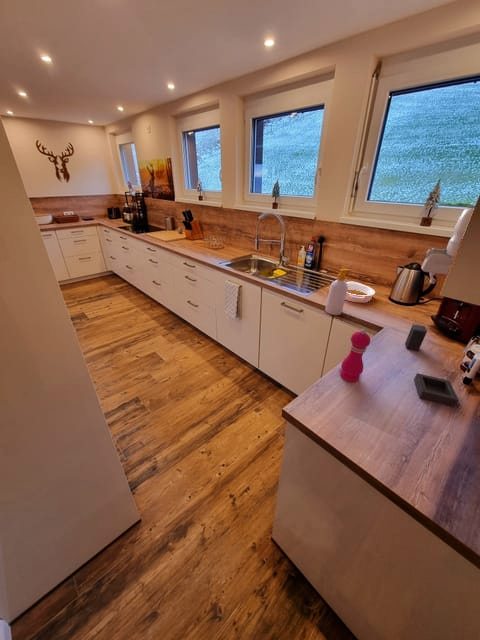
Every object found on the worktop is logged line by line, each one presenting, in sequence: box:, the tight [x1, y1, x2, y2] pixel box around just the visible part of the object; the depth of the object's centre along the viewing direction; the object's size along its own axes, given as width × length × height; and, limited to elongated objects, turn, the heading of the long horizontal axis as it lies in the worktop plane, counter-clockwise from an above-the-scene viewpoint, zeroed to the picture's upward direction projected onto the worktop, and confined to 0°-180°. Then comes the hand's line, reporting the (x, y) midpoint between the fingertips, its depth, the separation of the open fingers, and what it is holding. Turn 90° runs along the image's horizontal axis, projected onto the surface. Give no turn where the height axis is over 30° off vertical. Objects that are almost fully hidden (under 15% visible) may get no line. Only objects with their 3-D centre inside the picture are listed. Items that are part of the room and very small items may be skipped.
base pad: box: [413, 372, 459, 408], centre depth 89 cm, size 10×10×3 cm
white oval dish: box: [345, 280, 376, 303], centre depth 162 cm, size 29×22×5 cm
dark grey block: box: [404, 323, 428, 352], centre depth 112 cm, size 5×5×10 cm
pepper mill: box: [340, 328, 371, 383], centre depth 91 cm, size 7×7×20 cm
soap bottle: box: [324, 268, 354, 316], centre depth 137 cm, size 9×9×24 cm
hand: (445, 285), depth 106 cm, fingers open, 8 cm apart
